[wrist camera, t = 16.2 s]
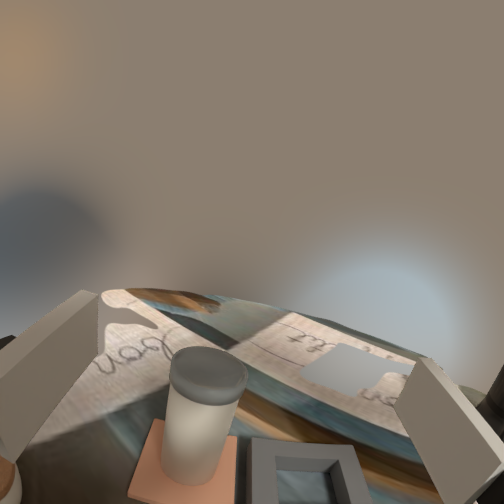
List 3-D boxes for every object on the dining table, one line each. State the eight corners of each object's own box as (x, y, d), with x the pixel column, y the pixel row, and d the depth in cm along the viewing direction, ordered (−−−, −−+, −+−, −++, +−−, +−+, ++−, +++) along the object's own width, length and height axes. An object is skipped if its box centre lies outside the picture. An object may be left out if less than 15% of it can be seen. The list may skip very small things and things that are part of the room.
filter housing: (344, 458, 35) (352, 445, 34) (367, 535, 21) (379, 524, 21) (246, 450, 34) (251, 436, 33) (245, 539, 20) (252, 529, 20)
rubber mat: (235, 441, 35) (237, 436, 35) (231, 519, 23) (233, 516, 23) (154, 423, 35) (154, 418, 35) (127, 496, 22) (127, 492, 22)
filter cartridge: (219, 450, 32) (248, 355, 29) (215, 492, 25) (248, 398, 22) (165, 438, 32) (180, 339, 29) (153, 478, 25) (163, 379, 22)
